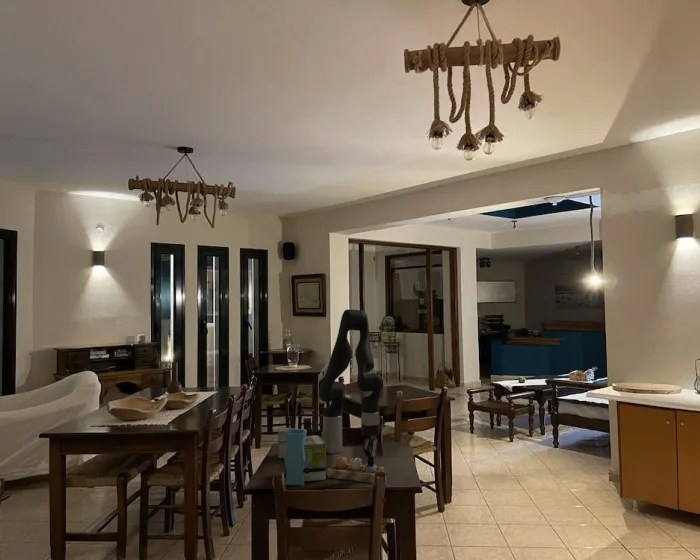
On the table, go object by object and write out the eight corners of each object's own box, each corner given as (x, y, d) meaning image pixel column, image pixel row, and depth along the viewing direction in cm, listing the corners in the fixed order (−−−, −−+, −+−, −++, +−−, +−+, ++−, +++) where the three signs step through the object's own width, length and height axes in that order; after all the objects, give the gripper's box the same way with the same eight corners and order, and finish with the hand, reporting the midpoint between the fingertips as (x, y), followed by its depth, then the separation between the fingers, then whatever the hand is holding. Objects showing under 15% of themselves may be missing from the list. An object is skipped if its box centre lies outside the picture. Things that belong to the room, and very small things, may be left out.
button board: (327, 477, 219) (327, 469, 219) (337, 469, 229) (337, 462, 230) (375, 482, 212) (375, 475, 212) (384, 474, 222) (384, 467, 222)
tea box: (326, 479, 216) (326, 443, 216) (302, 482, 213) (302, 444, 214) (319, 468, 230) (318, 434, 231) (296, 470, 228) (295, 435, 228)
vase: (289, 478, 219) (288, 428, 219) (308, 478, 218) (307, 429, 218) (284, 484, 211) (284, 433, 211) (304, 485, 210) (303, 433, 211)
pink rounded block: (333, 469, 222) (333, 458, 222) (338, 465, 226) (338, 455, 226) (344, 470, 220) (344, 460, 220) (348, 466, 224) (348, 456, 225)
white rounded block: (348, 470, 219) (348, 460, 219) (352, 467, 224) (352, 457, 224) (359, 472, 218) (359, 461, 218) (363, 468, 222) (363, 458, 222)
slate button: (363, 476, 217) (363, 466, 217) (367, 473, 221) (367, 462, 222) (374, 478, 215) (374, 467, 215) (378, 474, 220) (378, 464, 220)
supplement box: (277, 458, 246) (277, 430, 247) (285, 453, 253) (285, 427, 254) (291, 459, 244) (291, 432, 244) (299, 455, 251) (299, 428, 251)
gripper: (367, 418, 227) (367, 459, 226) (356, 425, 214) (356, 469, 214) (383, 419, 224) (384, 461, 223) (373, 426, 212) (374, 471, 211)
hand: (370, 465), depth 218 cm, fingers closed
